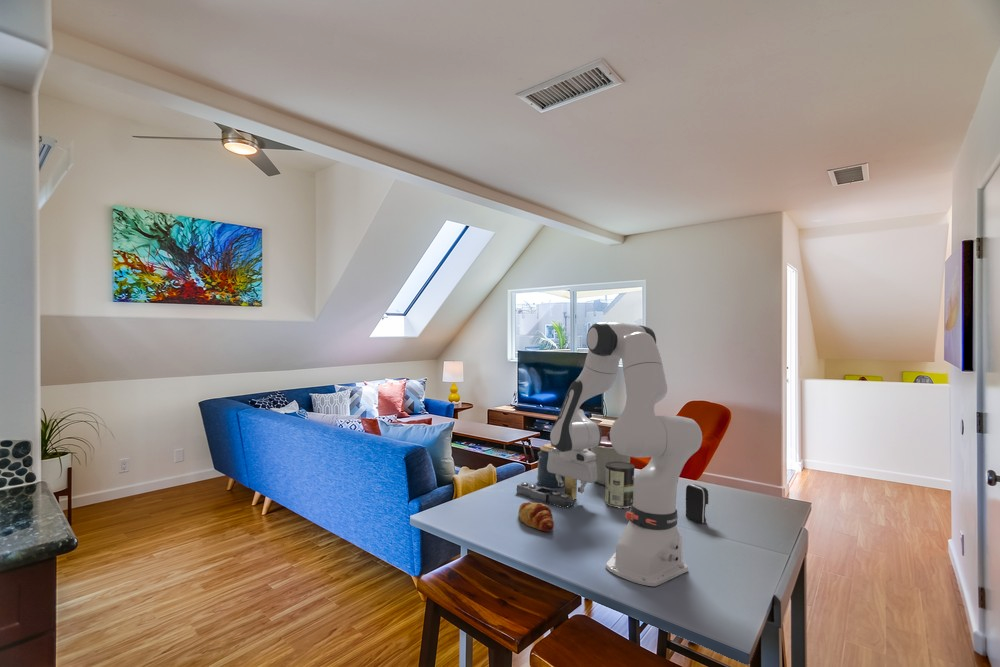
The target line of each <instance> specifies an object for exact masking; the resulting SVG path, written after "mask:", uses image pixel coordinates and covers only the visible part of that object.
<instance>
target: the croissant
mask: <svg viewBox="0 0 1000 667" xmlns="http://www.w3.org/2000/svg"><path fill="white" fill-rule="evenodd" d="M518 516H519V522H522V523H524V524H525V525H526V526H528V527H529V528H530V527H531V528H534V529H536V530H538V531H542V532H551V531H552V530H554V526H555V525H554V524H555V523H554V518H553V514H552V510H551V508H550V507H549V506H548V505H547V504H545V503H543V502H540V503H539V502H531V501H529V502H522V503H521V504H520V505H519V509H518Z"/></svg>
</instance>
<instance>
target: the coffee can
mask: <svg viewBox="0 0 1000 667" xmlns="http://www.w3.org/2000/svg"><path fill="white" fill-rule="evenodd" d="M635 470H636V467H635V465H634V464H633V463H631V462H630V463H626V462H619V461H613V462H607V463H606V485H604V486H605V490H604V491H605V492H604V493H605V494H604V495H605V496H604V497H605V498H604V503H605V505H607V504H608V505H610V506H609V507H611V506H614V507H620V508H619V509H622V508H624V509H630V508H629V507H631V506H632V504H633V491H634V478H635ZM608 505H607V506H608ZM614 507H613V508H614Z"/></svg>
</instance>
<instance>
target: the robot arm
mask: <svg viewBox="0 0 1000 667" xmlns="http://www.w3.org/2000/svg"><path fill="white" fill-rule="evenodd" d="M586 344H587V348H588V351H587V354H586V357H585V361H584V365H583V368H582V370H581V372H580V374H579V376H578V377H577V378H576V379H575V380H574V381H572V382H571V383H570V386H569V388H568V390H567V392H566V394H565V398H564V400H563V402H562V405H561V408H560V410H559V413H558V415H557V418H556V419H555V422H554V423H553V425H552V427H551V429H550V432H549V440H550V441H549V442H550V443H552V445H553V446H554V447H555V448H556V449H555V448H552V449H550V450H549V454H548V456H549V457H548V462H547V470H548V472H550V473H554V474H556V479H557V481H558V486H559V487H558V488H563V486H564V482H563V481H562V479H561V476H565V477H569V478H573V479H576V480H577V481H580V484H581V485H580V486H577V492H578V493H581V494H583V493H584V491H585V487H586V485H587V483H588V484H593V483H595V482H596V480H597V465H596V462H595V461H594V460H595V459H596V455H595V454H594V453H593V452H591V450H589V449H591V448H594V447H597V446H598V445H599V444H600V442H601V437H603V436H602V429H601V427H600V426H599V424H598V423H597V422H596V421H592V420H591V419H590V418H588V417H587V415H585V412H584V409H581V408H580V407H581V406H582V404H584V402H586V401H588V400H589V399H591V398H594V397H596V396H598V395H602V394H603V393H606V392H608V391H609V390H610V389H611V388H612V387H613V385H614V384H615V381H616V379H617V374H618V371H619V365H620V360H621V363H622V370H623V377H624V383H625V393H626V401H625V406H624V409H623V410H622V413H621V414H620V416H619V417H617V419H615V421H614V422H613V423H612V425H611V426H610V429H609V430H610V431H609V432H610V442H611V445H612V447H613V448H614V450H615V451H616V452H617V453H618V454H620V455H625V456H630V458H631V457H632V458H650V460H649V462H648V463H647V465H645V467H643V468H642V469H639V471H638V472H637V473H636V474H635V475H634V491H633V504H632V506H631V508H630V510H629V511H628V510H627V511H625V515H624V517H625V519H626V520H629V521H628V522H627V525H626V527H625V528H624V530H623V532H622V534H621V535H620V537H619V539H618V541H617V542H616V547H615V552H614V553H613V554H612V555H611V557H610V558H609V559H608V561H607V562H606V563H605V569H606V570H607V571H609V572H611V573H612V574H614V575H615V576H618V577H619V578H623V579H625V580H628V581H629V582H632V583H636V584H639V585H644V586H649V587H658V586H659V585H662V584H664V583H666V582H669V581H670V580H673V579H674V578H676V577H678V576H679V577H680V576H681V575H682V574H684V573H688V572H689V568H688V567H689V566H688V565H687V564H686V563H685V562H684V556H683V553H684V552H683V549H684V548H683V536H682V535H681V533H680V531H679V530H678V527H677V525H678V518H679V516H678V510H677V508H676V506H677V493H678V492H677V490H678V489H677V488H678V482H679V479H680V475H681V474H682V471H683V469H684V466H685V464H686V463H687V461H688V460H689V459H690V458H691V457H692V456H694V454H695V453H696V452H698V451H699V450H700V448H701V447H702V443H703V432H702V430H701V427H700V425H699V424H698V423H697V421H695V420H694V419H693V418H689V417H685V416H680V415H656V413H655V405H657V404H658V403H660V402H661V401H662V400H663V399H664V398H665V397H666V395H667V392H668V384H667V380H666V375H665V370H664V365H663V361H662V357H661V355H660V354H661V353H660V351H659V348H658V346H657V337H656V334H655V332H654V331H653V329H652V328H650V327H648V326H645V325H636V324H631V323H624V322H606V321H601V322H595V323H593V324H592V325H591V326H590V328H588V330H587V334H586ZM564 487H565V486H564Z"/></svg>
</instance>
